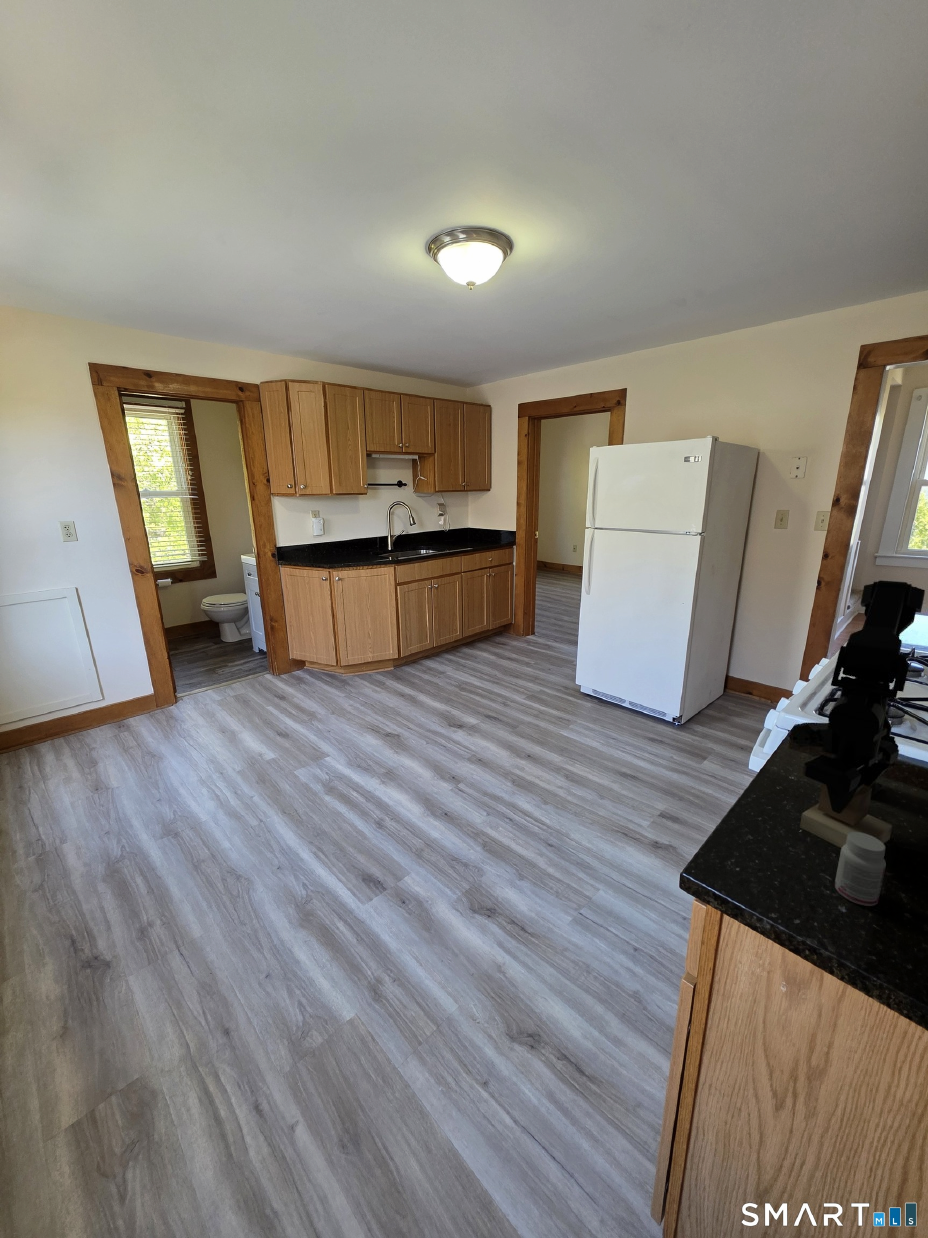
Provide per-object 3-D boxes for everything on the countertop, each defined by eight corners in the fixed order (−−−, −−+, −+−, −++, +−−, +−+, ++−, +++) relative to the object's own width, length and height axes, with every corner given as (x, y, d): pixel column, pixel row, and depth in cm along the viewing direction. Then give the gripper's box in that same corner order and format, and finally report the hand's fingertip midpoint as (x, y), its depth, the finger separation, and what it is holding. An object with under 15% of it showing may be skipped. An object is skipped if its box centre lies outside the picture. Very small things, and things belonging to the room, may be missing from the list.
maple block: (825, 812, 85) (828, 797, 84) (888, 841, 77) (892, 825, 77) (799, 829, 81) (802, 813, 80) (863, 861, 73) (867, 844, 72)
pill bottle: (886, 910, 64) (898, 855, 62) (846, 904, 65) (856, 850, 63) (865, 883, 68) (875, 832, 66) (827, 878, 69) (836, 827, 67)
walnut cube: (831, 800, 82) (836, 774, 81) (867, 815, 78) (872, 788, 77) (817, 809, 80) (822, 782, 79) (853, 825, 76) (858, 797, 75)
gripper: (829, 692, 87) (816, 769, 90) (774, 714, 78) (762, 800, 81) (908, 713, 77) (890, 798, 81) (856, 742, 68) (839, 837, 72)
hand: (843, 807), depth 79 cm, fingers closed on walnut cube, 5 cm apart
